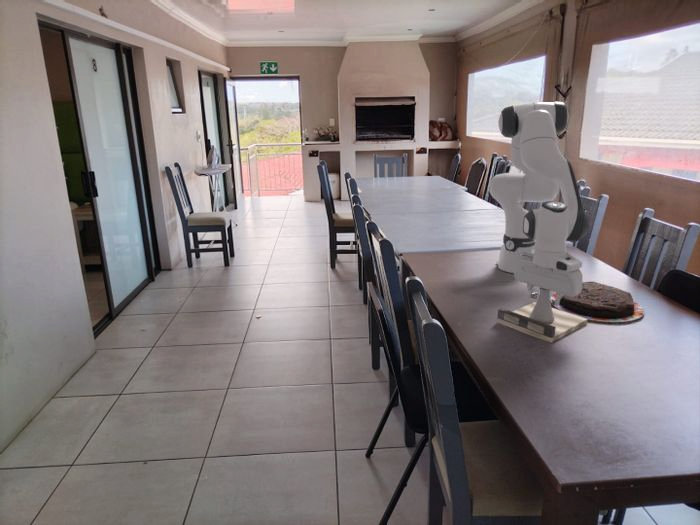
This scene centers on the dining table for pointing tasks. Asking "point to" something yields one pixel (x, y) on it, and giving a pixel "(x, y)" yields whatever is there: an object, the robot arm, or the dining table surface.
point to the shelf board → (540, 323)
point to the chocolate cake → (601, 304)
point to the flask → (543, 308)
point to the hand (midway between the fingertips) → (543, 301)
